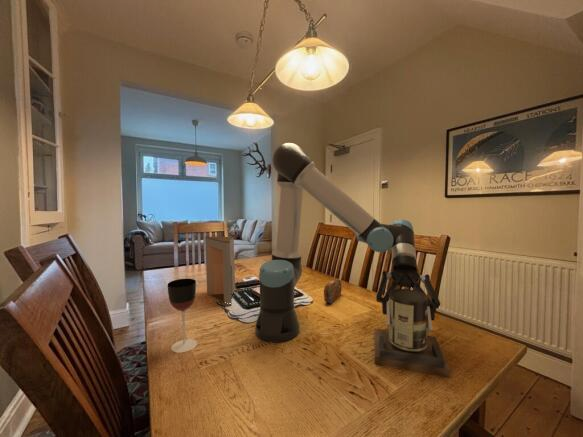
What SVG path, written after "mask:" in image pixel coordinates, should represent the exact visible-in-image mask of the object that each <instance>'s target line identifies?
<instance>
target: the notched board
mask: <svg viewBox="0 0 583 437" xmlns="http://www.w3.org/2000/svg"><path fill="white" fill-rule="evenodd" d="M426 344H427V347H426V349H424V350H422V351H417V352H412V351H406V350H403V349H400V348H397V347H396V346H394V345H393V344H391V342H390V341H389V329H388V330H386V329H379V328H374V365H379V366H386V367H390V368H396V369H403V370H407V371H413V372H419V373H425V374H430V375H434V376H435V375H436V376H441V377H446V378H450V377H451V376H450V374H451V369H450V366H449V364H448V362H447V360H446V358H445V356H444V353H443V351H442V348H441V347H440V343H439V342H438V339H437V337H436V336H430V335H429V336H428V335H427V341H426Z"/></svg>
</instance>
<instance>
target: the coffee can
mask: <svg viewBox="0 0 583 437" xmlns="http://www.w3.org/2000/svg"><path fill="white" fill-rule="evenodd" d="M425 294H426V293H425ZM425 294H423V293H421V292H418V291H415V290H413V289H409V288H408V289H407V288H397V289H394V290H391V291H390V292H389V301H388V302H389V308H390V327H388V331H389V341H390V342H391V344H393V345H394V346H396V347H397V348H400V349H403V350H406V351H412V352H417V351H422V350H424V349H426V347H427V344H426V341H427V336H428V335H427V334H428V330H427V302H428V297H429V296H428V295H427V294H426V295H425ZM427 296H428V297H427Z"/></svg>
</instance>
